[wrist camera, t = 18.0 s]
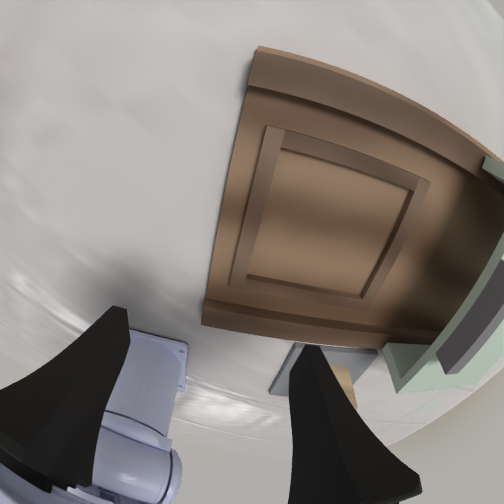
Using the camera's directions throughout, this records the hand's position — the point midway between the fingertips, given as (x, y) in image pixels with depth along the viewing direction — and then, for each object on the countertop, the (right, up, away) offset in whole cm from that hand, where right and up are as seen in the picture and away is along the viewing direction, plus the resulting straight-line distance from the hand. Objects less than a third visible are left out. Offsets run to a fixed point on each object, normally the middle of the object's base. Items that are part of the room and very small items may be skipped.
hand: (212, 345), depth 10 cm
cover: (+21, +1, +7) cm, 22 cm away
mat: (+9, -9, +16) cm, 21 cm away
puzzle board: (+14, +4, +8) cm, 17 cm away
